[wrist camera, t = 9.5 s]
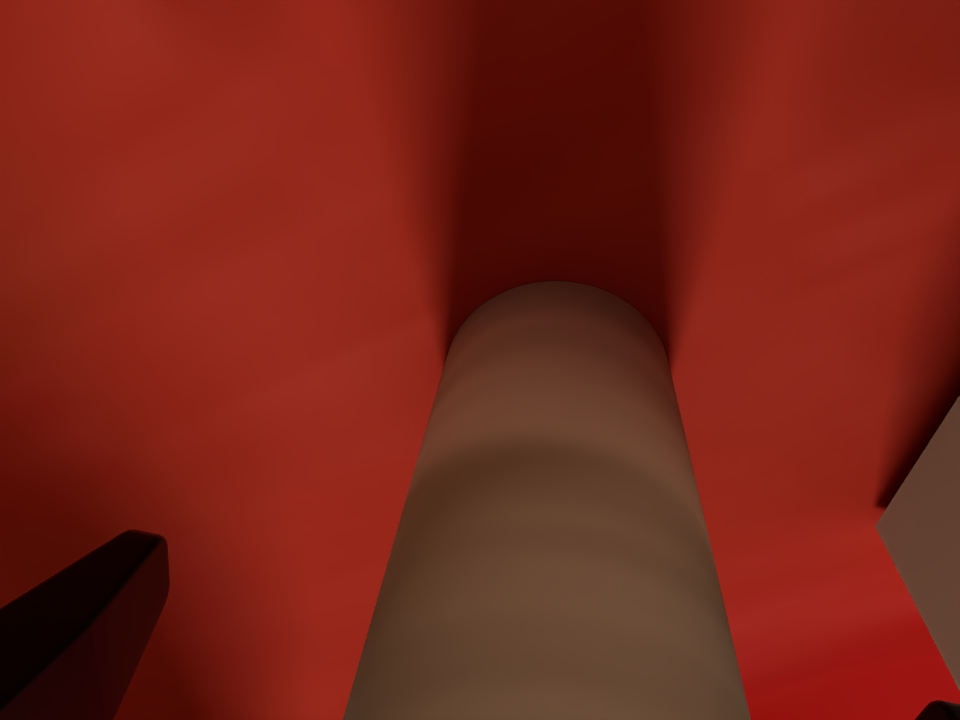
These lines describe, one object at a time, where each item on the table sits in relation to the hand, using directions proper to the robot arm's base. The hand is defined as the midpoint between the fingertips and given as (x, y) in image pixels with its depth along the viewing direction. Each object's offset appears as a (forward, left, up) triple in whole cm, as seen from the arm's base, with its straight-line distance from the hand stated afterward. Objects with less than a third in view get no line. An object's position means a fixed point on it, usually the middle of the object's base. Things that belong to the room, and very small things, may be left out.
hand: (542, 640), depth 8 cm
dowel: (0, 0, -5) cm, 5 cm away
